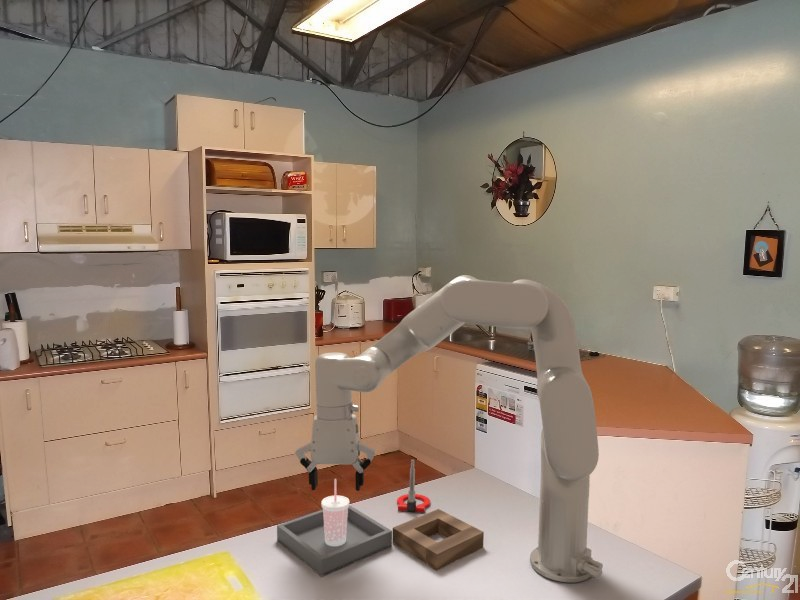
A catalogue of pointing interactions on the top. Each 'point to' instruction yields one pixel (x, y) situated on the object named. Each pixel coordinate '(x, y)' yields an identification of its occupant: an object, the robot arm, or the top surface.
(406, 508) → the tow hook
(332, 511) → the beverage cup
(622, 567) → the top surface
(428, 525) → the square wooden frame block
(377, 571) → the top surface
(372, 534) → the tray
